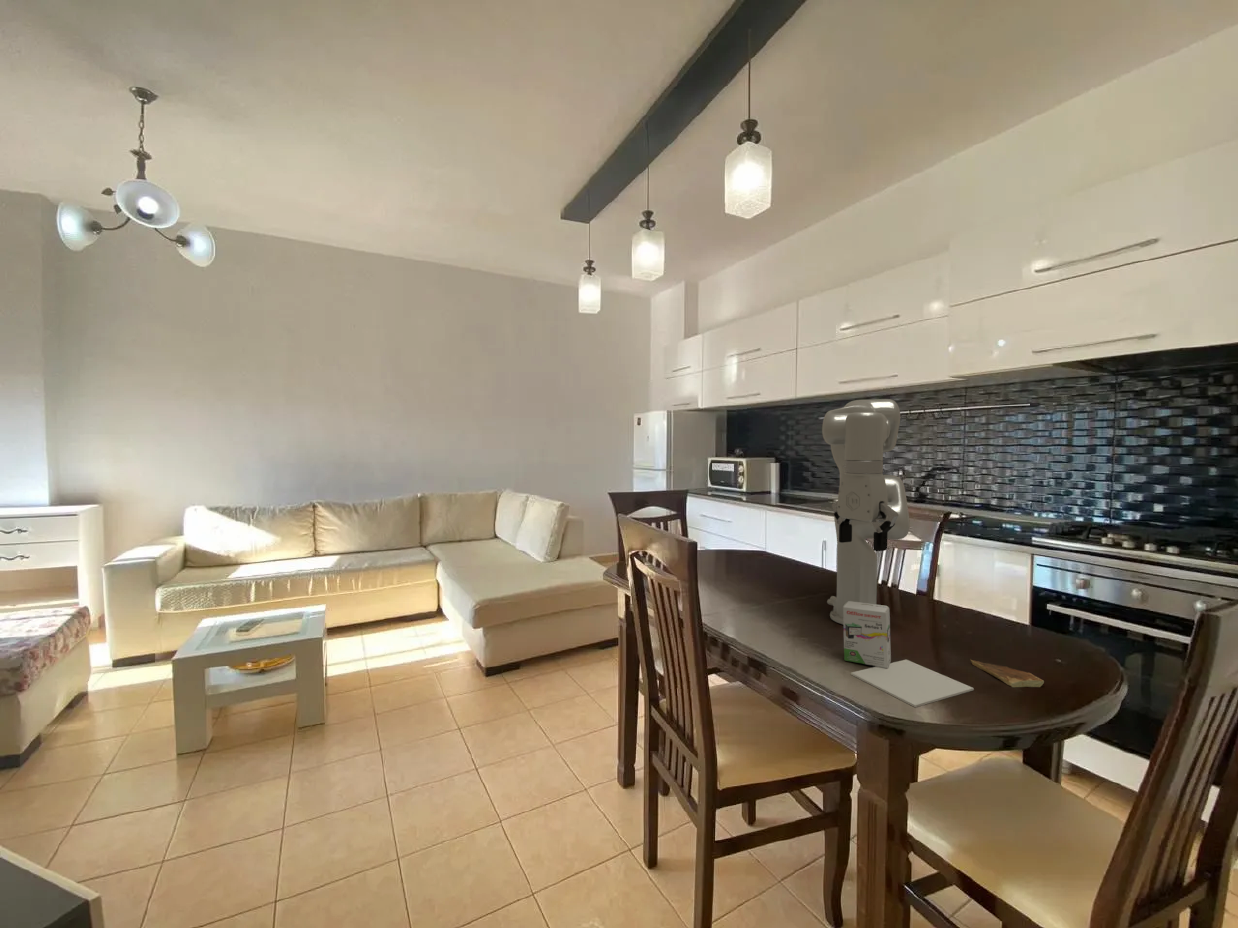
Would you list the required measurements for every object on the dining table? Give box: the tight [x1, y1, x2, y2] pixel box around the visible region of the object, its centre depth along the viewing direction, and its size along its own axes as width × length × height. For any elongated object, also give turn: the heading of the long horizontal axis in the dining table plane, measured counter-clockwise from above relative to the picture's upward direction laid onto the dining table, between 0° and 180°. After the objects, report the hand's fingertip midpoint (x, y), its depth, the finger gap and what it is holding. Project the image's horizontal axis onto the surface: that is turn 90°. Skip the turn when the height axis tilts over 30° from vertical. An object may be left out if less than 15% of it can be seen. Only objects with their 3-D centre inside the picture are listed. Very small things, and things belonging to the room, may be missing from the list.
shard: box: [970, 658, 1045, 688], centre depth 103 cm, size 11×8×2 cm
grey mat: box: [850, 659, 975, 708], centre depth 99 cm, size 14×16×1 cm
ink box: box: [842, 601, 892, 668], centre depth 109 cm, size 8×5×12 cm, turn 55°
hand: (862, 546), depth 112 cm, fingers open, 9 cm apart
